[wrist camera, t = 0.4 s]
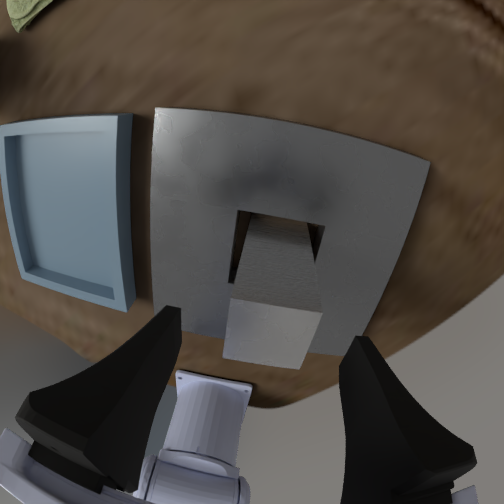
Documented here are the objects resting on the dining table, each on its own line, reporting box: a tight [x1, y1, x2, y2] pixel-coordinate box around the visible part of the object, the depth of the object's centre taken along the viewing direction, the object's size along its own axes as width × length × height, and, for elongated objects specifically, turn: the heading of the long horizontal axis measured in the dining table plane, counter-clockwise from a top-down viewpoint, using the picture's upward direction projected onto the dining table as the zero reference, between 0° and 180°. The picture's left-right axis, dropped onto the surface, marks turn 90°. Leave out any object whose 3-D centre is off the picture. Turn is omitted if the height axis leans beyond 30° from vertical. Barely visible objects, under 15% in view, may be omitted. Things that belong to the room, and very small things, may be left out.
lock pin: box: [223, 212, 323, 369], centre depth 16 cm, size 4×4×9 cm
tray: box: [0, 113, 136, 312], centre depth 19 cm, size 15×13×2 cm
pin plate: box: [150, 107, 431, 356], centre depth 19 cm, size 16×16×2 cm
